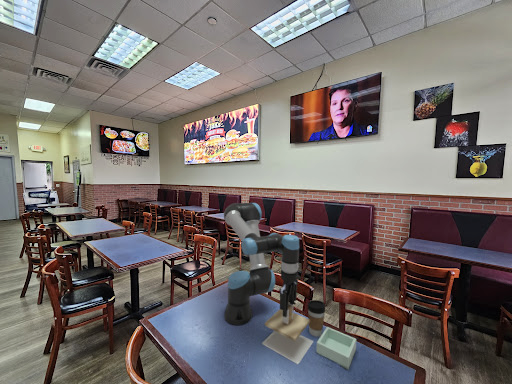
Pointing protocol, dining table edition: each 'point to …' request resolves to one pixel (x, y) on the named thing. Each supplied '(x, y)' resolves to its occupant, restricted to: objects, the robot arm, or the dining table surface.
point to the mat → (288, 346)
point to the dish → (337, 347)
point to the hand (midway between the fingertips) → (287, 320)
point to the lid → (293, 326)
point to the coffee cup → (316, 317)
